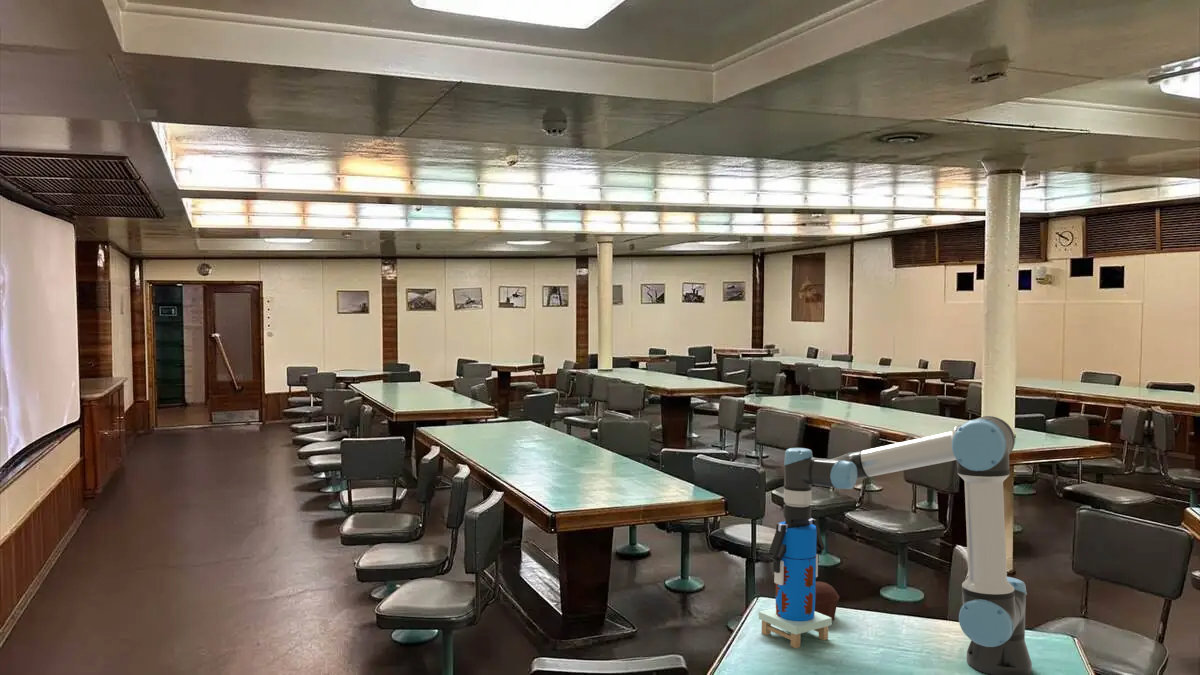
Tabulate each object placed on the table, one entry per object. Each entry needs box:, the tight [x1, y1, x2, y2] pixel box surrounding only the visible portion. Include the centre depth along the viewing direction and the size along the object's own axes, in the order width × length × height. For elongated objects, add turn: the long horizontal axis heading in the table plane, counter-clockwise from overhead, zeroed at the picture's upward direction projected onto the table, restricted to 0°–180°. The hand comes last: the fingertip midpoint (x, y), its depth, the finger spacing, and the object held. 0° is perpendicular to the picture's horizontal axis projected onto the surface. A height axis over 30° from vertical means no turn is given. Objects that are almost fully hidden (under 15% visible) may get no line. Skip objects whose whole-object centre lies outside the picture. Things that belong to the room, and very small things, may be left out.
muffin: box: [815, 581, 840, 621], centre depth 249 cm, size 12×11×10 cm
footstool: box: [758, 607, 833, 649], centre depth 233 cm, size 14×14×6 cm
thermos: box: [775, 520, 817, 621], centre depth 232 cm, size 11×11×25 cm
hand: (796, 580), depth 232 cm, fingers open, 13 cm apart
